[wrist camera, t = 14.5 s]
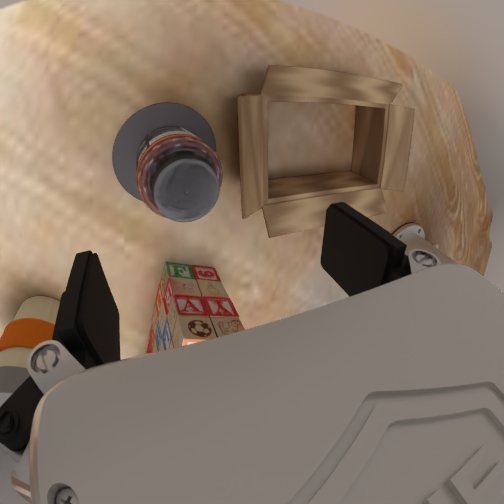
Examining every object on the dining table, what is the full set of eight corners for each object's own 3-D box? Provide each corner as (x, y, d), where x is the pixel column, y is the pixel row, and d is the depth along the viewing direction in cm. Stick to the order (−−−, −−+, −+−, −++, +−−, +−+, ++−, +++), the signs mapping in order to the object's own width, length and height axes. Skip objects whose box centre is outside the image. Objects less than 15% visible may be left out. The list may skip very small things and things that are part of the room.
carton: (375, 82, 29) (416, 88, 23) (365, 190, 37) (400, 211, 32) (214, 71, 23) (237, 64, 17) (222, 214, 31) (244, 244, 26)
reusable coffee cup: (5, 337, 27) (-12, 429, 15) (11, 269, 24) (-28, 372, 12) (81, 363, 34) (84, 455, 22) (102, 303, 31) (105, 413, 19)
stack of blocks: (179, 374, 43) (199, 440, 33) (142, 374, 40) (155, 443, 30) (215, 266, 34) (252, 340, 25) (164, 259, 31) (184, 340, 22)
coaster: (211, 97, 24) (213, 97, 24) (217, 192, 30) (219, 194, 29) (106, 113, 21) (105, 114, 21) (123, 211, 27) (122, 213, 26)
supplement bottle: (197, 183, 28) (231, 235, 19) (137, 186, 25) (139, 243, 17) (200, 123, 25) (240, 143, 16) (137, 125, 22) (134, 145, 14)
